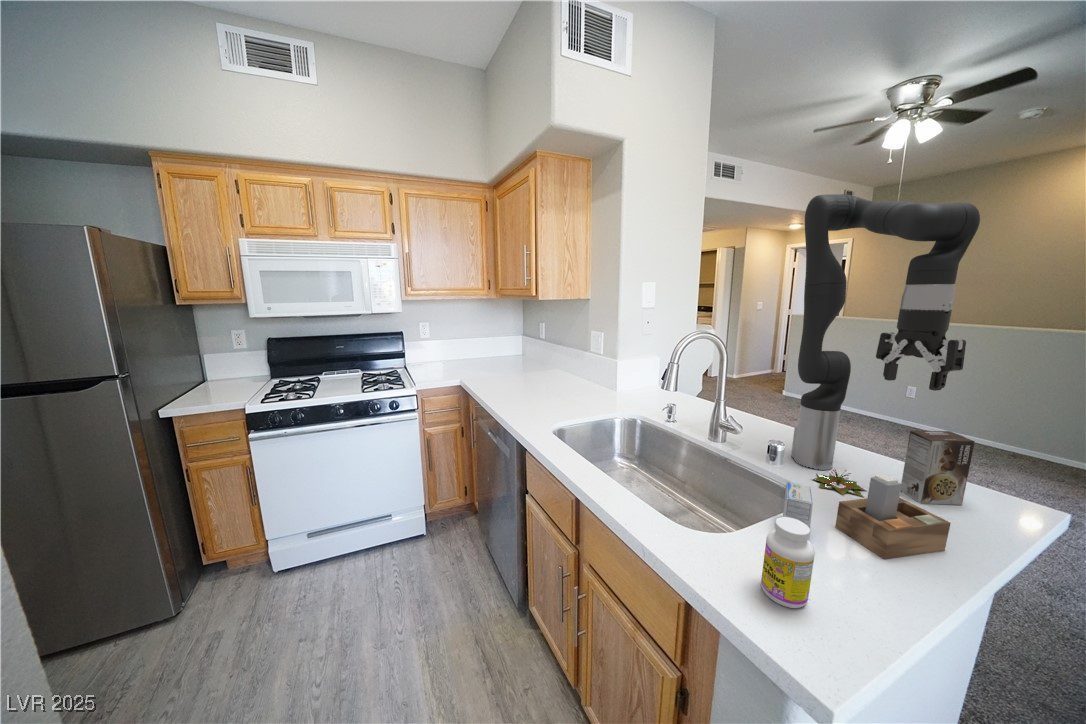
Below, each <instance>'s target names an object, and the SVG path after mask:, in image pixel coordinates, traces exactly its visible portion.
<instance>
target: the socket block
mask: <svg viewBox="0 0 1086 724" xmlns="http://www.w3.org/2000/svg"><path fill="white" fill-rule="evenodd" d="M867 498H868V497H866V498H865V497H864V498H858V499H849V500H848V499H847V500H841V501H838V506H837V513H836V520H835V521H836V522H835V526H834V527H835V528H837V530H839V531H841V532H842V533H843V534H845V535H847V536H849V537H850V538H851V539H852V540H854V541H856V542H857V543H859V544H860V545H861V546H863V547H865V548H866V549H868V550H869V551H871V552H873V553H874V554H875V555H877V556H878V557H880V558H881V559H883V560H887V559H895V558H904V557H911V556H917V555H923V554H931V553H936V552H937V553H940V552H944V551H946V547H947V542H948V538H949V533H950V528H951V523H952V522H950V521H948V520H946V519H944V518H942V517H940V516H938V515H936V514H934V513H932V512H930V511H927V510H926V509H924V508H922V507H920V506H918V505H915V504H913V503H911V502H910V501H908V500H906V499H904V498H901V497H899V501H898V507H897V512H896V517H895V519H890V520H883V521H878V520H877V519H875V518H873V517H871V516H870V515H868V514H866V513H865V510H866V504H867Z"/></svg>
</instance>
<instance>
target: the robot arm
mask: <svg viewBox="0 0 1086 724" xmlns="http://www.w3.org/2000/svg"><path fill="white" fill-rule="evenodd" d="M804 213H805V214H804V235H805V236H804V238H805V254H806V255H805V259H806V260H805V280H804V289H803V290H804V292H803V293H804V295H803V319H802V320H803V322H802V323H803V324H802V332H801V338H800V339H801V341H800V347H799V352H798V360H797V372H798V377H799V378H800V381H802V382H803V383H804V384H812V385H814V384H815V385H817V384H818V385H819V386H818V387H816V388H815V389H812V390H811V391H808V392H805V393H803V394H801V398H800V404H799V405H800V406H799V412H798V423H797V426H795V427H794V429H793V439H792V445H791V454H790V457H791V456H792V457H793V458H794V459H793V458H792V457H791V458H792V459H793V460H795V461H796V462H795V461H794V462H795V463H797V464H798V463H799V464H798V465H800V464H802V465H804V466H803V467H805V466H806V467H805V468H808V467H810V468H809V469H812V468H814V469H813V470H818V469H819V470H820V471H827V470H831V469H832V468H833V463H834V458H835V457H834V455H835V451H836V444H837V437H838V430H839V429H838V428H839V422H840V415H841V408H842V404H843V403H844V401H845V399H846V397H847V396H846V395H847V392H848V391H847V390H848V386H849V382H850V378H851V370H852V367H851V366H852V365H851V360H850V358H849V357H848V355H847V354H846V353H845V352H843V351H839V350H823V342H824V338H825V335H826V332H827V330H828V329H829V327H830V325H831V324H832V323H833V322H834V320H835V319H836V318H837V316H838V315H839V314H840V313H841V311H842V309H843V308H844V305H845V303H846V298H847V276H846V273H845V271H844V269H843V267H842V265H841V264H840V263H839V261H838V259H837V258H836V256H835V255H834V253H833V252H832V249H831V245H830V239H829V232H836V231H837V232H838V231H843V230H850V229H851V230H852V229H858V228H859V229H866V230H868V231H870V232H871V233H875V234H879V235H886V236H894V237H898V238H901V239H903V240H906V241H912V242H935V243H934V244H933V246H932V248H931V249H930V251H929V252H928V253H923V254H920V255H917V256H915V257H913V258H911V260H910V261H909V264H908V268H907V272H906V273H907V274H906V279H905V286H904V290H903V292H902V295H901V299H900V305H899V313H898V317H897V323H896V329H897V330H898V331H897V333H895V332H882V333H880V335H879V339H878V340H879V341H878V345H877V349H876V354H875V358H876V359H877V360H881V361H883V362H884V365H883V366H884V368H883V373H882V375H883V376H882V377H884V381H889V382H890V381H895V380H896V379H897V374H898V369H899V363H898V362H900V361H901V360H902V359H904V358H905V357H911V356H912V357H915V358H920V359H922V358H923V359H924V360H925V361H926V363H928V364H929V365H930V366H931V368H932V369H933V371H932V372H931V376H930V380H929V386H928V390H929V391H941V390H942V389H944V388H945V387H946V384H947V378H948V374H949V373H950V372H956V371H962V370H963V369H964V362H965V354H966V347H967V346H966V345H967V341H966V340H965V339H961V338H960V339H947V336H946V333H947V332H948V330H949V328H950V322H951V317H952V312H953V306H954V301H955V289H956V288H955V287H956V285H955V284H956V281H957V275H958V270H959V265H960V262H961V261H962V259H963V257H964V255H965V253H966V252H967V250H968V248H969V246H970V244H971V243H972V241H973V239H974V237H975V235H976V233H977V232H978V229H979V226H980V222H981V214H980V211H979V209H978V207H976V206H975V205H974V204H973V203H969V202H941V203H940V202H937V203H936V202H934V203H933V202H932V203H931V202H930V203H928V202H925V203H924V202H923V203H922V202H921V203H920V202H917V201H903V200H885V201H884V200H883V201H873V200H869V199H865V198H863V197H859V196H855V195H853V194H852V195H851V194H846V193H845V194H842V193H841V194H820V195H819V194H818V195H815V196H814V197H813V198H811V199H810V200H809V202H808V204H807V206H806V209H805V212H804ZM895 342H896V344H897V345H896V346H895V347H894V343H895ZM943 347H944V349H946V350H945V351H946V354H945V353H944V352H943V351H942V349H943ZM802 465H801V466H802Z"/></svg>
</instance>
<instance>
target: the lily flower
mask: <svg viewBox="0 0 1086 724" xmlns="http://www.w3.org/2000/svg"><path fill="white" fill-rule="evenodd" d="M846 472H847V469H846V470H845V471H844V473H846ZM844 473H842V474H840V472H838V471H837V470H836V468H835V467H834V468H833V469H832V471H831V473H829V472H828V474H829V475H825V474H822V475H823V476H825V477H829V479H830V480H829V479H827V478H824V477H819V476H818V475H817V474H816V476H817V477H815V478H814V479H816V480H815V481H818V482H820V483H819V487H818V488H819V489H828V490H829V489H831V490H836V491H837V492H838V493H839V494H841V496H844V495H845V494H846V493H850V494H852V495H855V496H858V497H859V496H860V497H861V498H864V495H863V494H862V492H861V491H860V490H862V491H867V489H864V488H863V487H861V486H860V485H859V484H858V482H857V481H855V480H850V477H846V476H850V475H851V474H852V473H851V472H849V473H846V474H844ZM835 476H836V477H835ZM844 477H846V478H844ZM832 482H836V483H835V485H836V486H835V485H833V483H832ZM846 482H848V483H846ZM849 482H850V483H849ZM851 482H853V483H851ZM830 483H832V484H830ZM825 484H828V485H829V487H828V486H827V487H828V488H827V487H825ZM840 485H842V486H844V488H843V487H837V486H840ZM830 486H831V487H830ZM850 490H851V491H850Z"/></svg>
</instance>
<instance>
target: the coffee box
mask: <svg viewBox="0 0 1086 724" xmlns="http://www.w3.org/2000/svg"><path fill="white" fill-rule="evenodd" d="M975 442H976V441H975V440H972V439H970V438H967V437H966V436H964V435H962V434H958V433H955V432H953V431H950V430H910V431H909V437H908V442H907V449H906V454H905V461H904V464H903V465H904V466H903V471H902V472H903V473H902V477H901V482H900V483H901V484H902V485H901V490H900V492H902V493H903V494H905V495H907V496H909V497H910V498H912V499H913V500H914V501H915V502H917V503H919V504H922V505H924V504H925V505H956V506H957V505H958V506H959V505H960V506H962V505H963V503H964V497H965V492H966V489H967V487H966V486H967V483H968V482H967V481H968V477H969V472H970V467H971V462H972V456H973V451H974V447H975Z"/></svg>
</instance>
